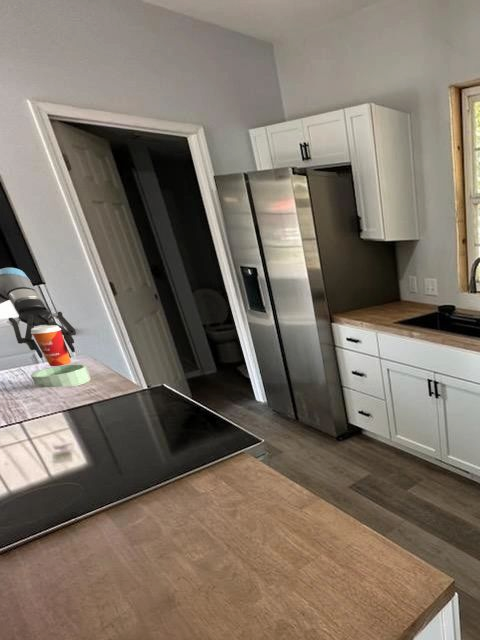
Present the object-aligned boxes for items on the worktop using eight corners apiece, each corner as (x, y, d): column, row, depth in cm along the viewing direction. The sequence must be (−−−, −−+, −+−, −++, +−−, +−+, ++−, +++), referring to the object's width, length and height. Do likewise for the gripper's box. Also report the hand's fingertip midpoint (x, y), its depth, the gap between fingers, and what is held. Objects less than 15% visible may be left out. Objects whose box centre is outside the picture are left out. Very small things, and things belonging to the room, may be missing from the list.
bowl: (34, 385, 155) (28, 371, 153) (86, 374, 166) (81, 361, 164) (40, 394, 147) (33, 379, 145) (94, 382, 158) (88, 368, 156)
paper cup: (40, 366, 151) (23, 329, 146) (65, 360, 158) (50, 324, 153) (55, 368, 149) (38, 330, 144) (80, 361, 156) (65, 325, 151)
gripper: (68, 306, 163) (95, 351, 160) (-12, 315, 147) (17, 366, 145) (65, 293, 158) (94, 340, 156) (-17, 302, 142) (13, 354, 140)
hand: (57, 352), depth 150 cm, fingers closed on paper cup, 8 cm apart
